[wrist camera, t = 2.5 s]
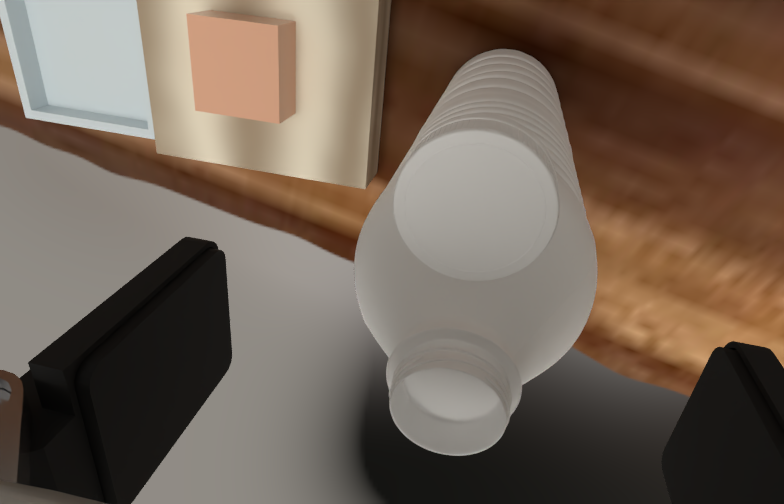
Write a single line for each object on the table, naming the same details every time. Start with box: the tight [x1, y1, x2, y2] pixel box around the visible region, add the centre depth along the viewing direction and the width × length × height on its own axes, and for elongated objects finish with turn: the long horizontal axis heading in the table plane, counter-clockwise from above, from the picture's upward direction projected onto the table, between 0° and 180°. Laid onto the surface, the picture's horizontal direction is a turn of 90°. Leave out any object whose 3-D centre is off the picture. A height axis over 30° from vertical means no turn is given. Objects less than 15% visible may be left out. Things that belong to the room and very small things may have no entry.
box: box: [0, 0, 155, 139], centre depth 34 cm, size 10×12×2 cm
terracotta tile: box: [186, 10, 296, 124], centre depth 29 cm, size 5×5×2 cm
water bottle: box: [354, 49, 597, 456], centre depth 20 cm, size 9×6×25 cm
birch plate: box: [136, 0, 391, 189], centre depth 31 cm, size 14×13×3 cm
